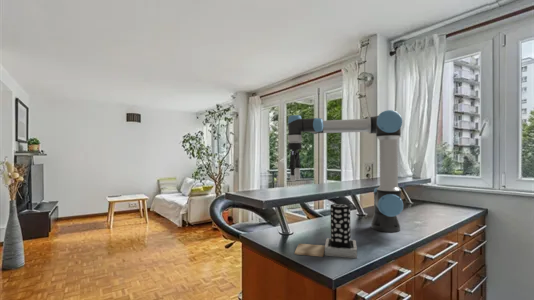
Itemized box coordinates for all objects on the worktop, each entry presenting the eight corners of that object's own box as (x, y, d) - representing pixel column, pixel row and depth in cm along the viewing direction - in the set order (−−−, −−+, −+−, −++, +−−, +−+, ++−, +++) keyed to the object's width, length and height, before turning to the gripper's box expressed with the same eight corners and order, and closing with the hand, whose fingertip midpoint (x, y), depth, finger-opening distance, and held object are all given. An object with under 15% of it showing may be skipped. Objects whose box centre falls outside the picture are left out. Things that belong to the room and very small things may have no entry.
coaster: (325, 247, 126) (325, 245, 126) (323, 256, 115) (323, 254, 115) (299, 245, 129) (298, 243, 129) (294, 254, 118) (294, 252, 118)
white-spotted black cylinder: (354, 253, 118) (354, 206, 118) (337, 256, 115) (336, 208, 116) (343, 247, 126) (343, 203, 126) (327, 249, 123) (327, 204, 124)
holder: (355, 245, 128) (354, 206, 129) (357, 258, 112) (356, 214, 113) (327, 243, 132) (326, 205, 132) (324, 255, 116) (324, 212, 116)
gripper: (292, 143, 170) (293, 178, 170) (283, 142, 146) (283, 182, 146) (305, 143, 168) (305, 178, 168) (297, 141, 144) (297, 182, 144)
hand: (295, 180), depth 157 cm, fingers open, 13 cm apart
